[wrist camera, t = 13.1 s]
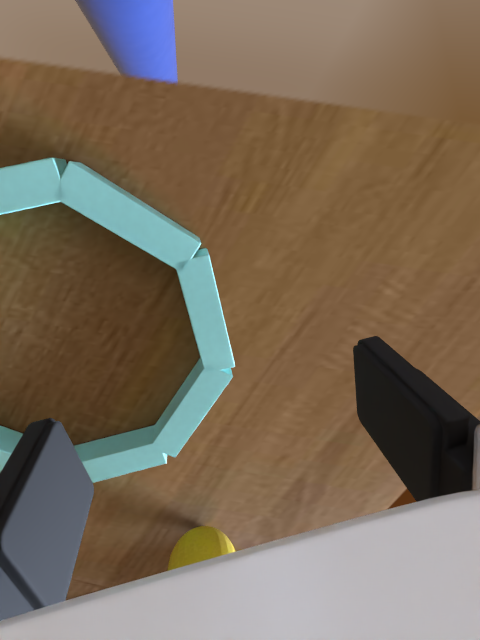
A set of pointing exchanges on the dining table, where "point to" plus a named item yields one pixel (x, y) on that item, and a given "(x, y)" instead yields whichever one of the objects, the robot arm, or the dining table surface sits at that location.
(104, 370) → the dining table surface
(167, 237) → the ring
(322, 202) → the dining table surface
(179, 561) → the lemon
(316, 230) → the dining table surface
